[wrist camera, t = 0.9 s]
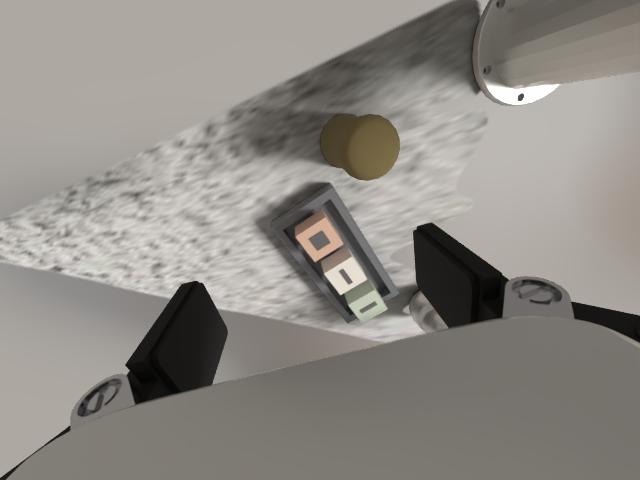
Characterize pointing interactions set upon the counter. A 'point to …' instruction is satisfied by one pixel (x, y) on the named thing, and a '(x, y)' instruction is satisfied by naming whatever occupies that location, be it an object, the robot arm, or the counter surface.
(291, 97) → the counter surface
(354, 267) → the key cream
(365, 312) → the key sage
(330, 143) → the olive rounded piece
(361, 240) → the base
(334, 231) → the peach square block
